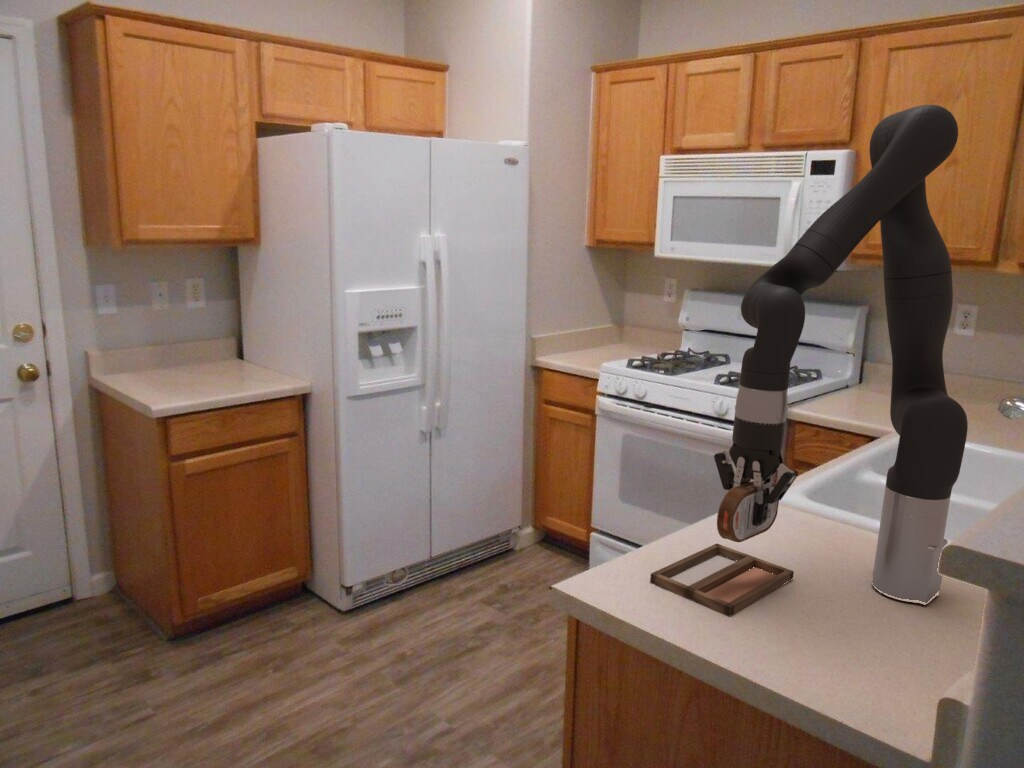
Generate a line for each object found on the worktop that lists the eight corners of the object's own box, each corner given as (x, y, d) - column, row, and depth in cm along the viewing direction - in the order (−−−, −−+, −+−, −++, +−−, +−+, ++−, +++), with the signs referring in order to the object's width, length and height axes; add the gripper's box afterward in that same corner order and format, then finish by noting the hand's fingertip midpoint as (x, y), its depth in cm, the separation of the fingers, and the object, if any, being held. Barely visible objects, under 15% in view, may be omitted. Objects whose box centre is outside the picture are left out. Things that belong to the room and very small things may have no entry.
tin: (764, 522, 131) (766, 473, 129) (781, 527, 128) (784, 477, 127) (713, 544, 120) (715, 491, 119) (732, 550, 118) (734, 495, 117)
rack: (792, 579, 130) (793, 571, 130) (729, 616, 117) (730, 607, 117) (715, 551, 141) (716, 543, 140) (650, 582, 127) (650, 573, 127)
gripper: (815, 421, 118) (801, 529, 122) (733, 403, 128) (722, 504, 132) (791, 428, 113) (777, 541, 117) (707, 409, 123) (697, 513, 127)
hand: (748, 521), depth 124 cm, fingers closed on tin, 2 cm apart
